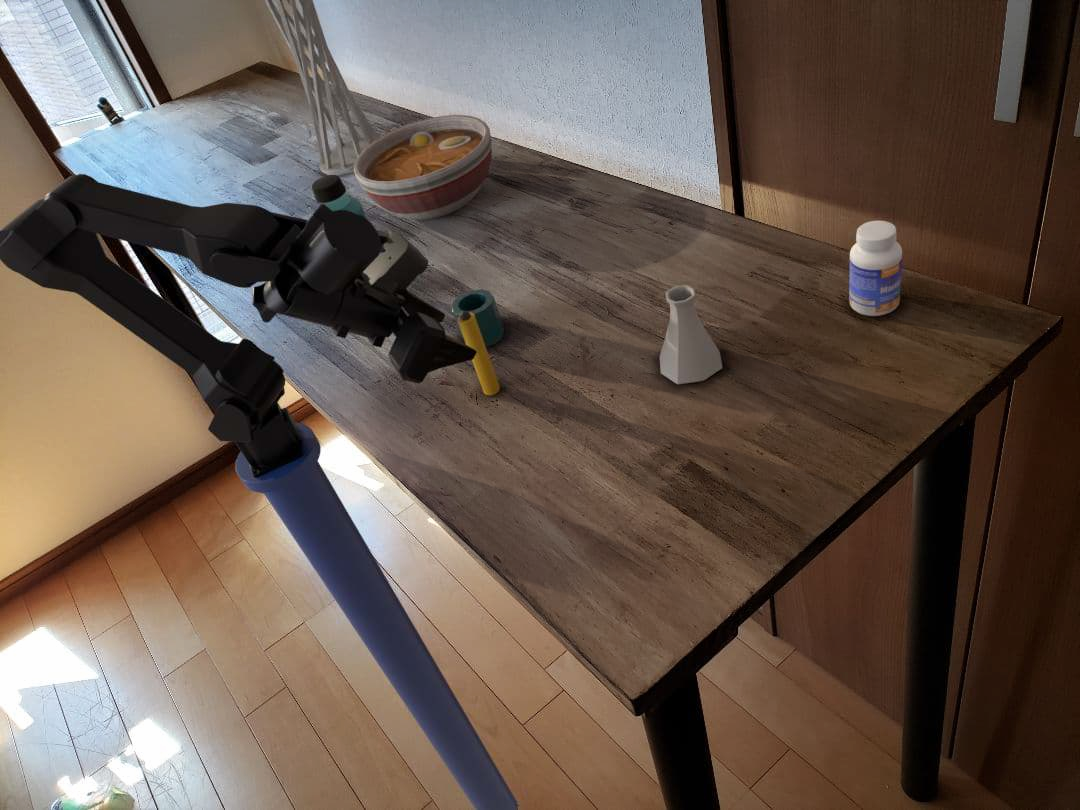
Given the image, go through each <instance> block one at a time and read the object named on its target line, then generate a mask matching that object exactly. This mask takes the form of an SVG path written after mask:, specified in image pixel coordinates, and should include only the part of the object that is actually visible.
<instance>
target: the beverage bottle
mask: <svg viewBox="0 0 1080 810" xmlns="http://www.w3.org/2000/svg"><path fill="white" fill-rule="evenodd" d="M311 190H312V193H313V195H314V200H315V201H316V202H317V203H319V204H325V205H326V206H327V207H328V208H330V209H331V210H332V211H335V210H347V211H351V212H354V213H355V214H357V215H362V216H364V217H365V218H366V219H367V220H368V218H367V216H366V212H365V211H364V209H363V206H362V203H361V202H360V200H358V199H357V198H355V197H353V196H349V195H345V194H346V192H347V189H346V186H345V184H344V182H343V181H342V179H341V178H340V175H339V176H337V175H325V176H322V177H319V178H318V179H316V180H314V182H313V183H312V184H311Z"/></svg>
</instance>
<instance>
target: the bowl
mask: <svg viewBox="0 0 1080 810" xmlns="http://www.w3.org/2000/svg"><path fill="white" fill-rule="evenodd" d="M492 146H493V143H492V135H491V130H490V127H489V125H488V123H486V122H485V121H484V120H483V119H481V118H478V117H475V116H472V115H466V114H448V115H440V116H434V117H429V118H424V119H421V120H417V121H414V122H411V123H409V124H405V125H403V126H401V127H398V128H396V129H394V130H392V131H390V132H388V133H386V134H384V135H382V136H380V137H379V139H378V140H376V141H374V142H373V143H372V144H370V145H369V146H368V147H367V148H366V149H364V151H363V152H362V153H361V154H360V155H359V156H358V158H357V160H356V162H355V165H354V172H353V173H354V176H355V178H356V180H357V182H358V183H359V186H360V187H361V188H362V189H363V190H364V192H365V193H366V194H367V195H368V196H369V198H370V199H371V200H372V201H373V202H375V203H376V204H377V205H378V206H380V207H381V208H382V209H383V210H386V211H388V212H389V213H391V214H393V215H396V216H398V217H401V218H405V219H411V220H418V221H419V220H420V221H422V220H432V219H437V218H442V217H444V216H447V215H450V214H452V213H454V212H456V211H458V210H460V209H461V208H464V206H466V205H468V203H469V202H471V200H472V199H473V198H474V197H475V196H476V195H477V194H478V193H479V192H480V191H481V188H482V187H483V186H484V185H483V184H484V183H485V181H486V180H487V177H488V175H489V171H490V167H491V163H492V157H493V155H492V153H493V148H492Z"/></svg>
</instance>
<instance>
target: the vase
mask: <svg viewBox="0 0 1080 810" xmlns="http://www.w3.org/2000/svg"><path fill="white" fill-rule="evenodd" d="M263 1H264V3H265V4H266V6H267V7H268V9H269V12H270V14H271V15H272V17H273V19H274V21H275V23H276V24H277V26H278V28H279V31H280V32H281V34H282V36H283V38H284V40H285V42H286V44H287V45H288V48H289V50H290V52H291V53H292V56H293V59H294V62H295V64H296V68H297V70H298V75H299V77H300V79H301V83H302V86H303V90H304V93H305V96H306V98H307V101H308V104H309V107H310V111H311V116H312V121H313V127H314V131H315V136H316V142H317V147H318V153H319V158H320V159H319V162H318V167H319V169H320V172H321V173H323V174H325V175H326V176H328V175H337V176H339V177H340V176H344V175H348V174H352V173H355V172H354V165H355V162H356V160H357V158H358V156H359V155H360V154H361V153H362V152H363V151H364V149H366V148H367V147H368V146H369V145H370V144H372V143H373V142H374V141H376V140H378V139H379V138H380V137H379V135H378V134H377V133H376V131H375V129H374V128H373V126H372V125H371V123H370V122H369V120H368V118H367V117H366V115H365V113H364V112H363V111H362V109H361V108H360V106H359V104H358V102H357V101H356V100H355V98H354V97H353V94H352V93H351V92H350V90H349V87H348V86H347V84H346V82H345V79H344V77H343V75H342V73H341V71H340V69H339V67H338V65H337V63H336V61H335V59H334V57H333V55H332V53H331V50H330V49H329V47H328V44H327V41H326V38H325V34H324V31H323V28H322V25H321V22H320V19H319V15H318V13H317V10H316V7H315V4H314V3H315V2H314V0H298V3H299V5H300V6H301V11H302V14H301V12H300V11H299V9H298V8H297V2H296V0H285V1H286V2H287V4H288V5H289V7H290V11H291V15H292V16H291V15H290V13H289V12H288V11H287V9H286V8H285V5H284V3H283V0H263ZM301 26H302V27H303V29H304V31H305V34H303V32H302V30H301ZM294 34H295V35H296V37H295V35H294ZM315 48H316V49H317V52H316V51H315V50H316V49H315ZM305 50H306V51H307V52H308V55H307V54H306V51H305ZM318 68H319V69H320V70H321V73H322V76H321V75H320V73H319V71H318ZM309 71H310V72H311V75H310V73H309ZM311 76H312V77H311ZM322 77H323V78H322ZM331 86H332V87H333V89H334V91H335V92H336V95H337V98H338V100H337V99H336V97H335V96H334V94H333V93H332V89H331ZM321 89H322V90H323V92H324V94H325V95H326V99H327V105H328V109H329V110H328V109H327V107H326V105H325V103H324V101H323V98H322V91H321ZM338 101H339V102H338ZM349 111H350V112H349ZM336 112H337V113H338V114H339V117H340V118H341V119H342V120H343V122H344V123H345V125H346V126H347V129H348V132H349V135H350V138H351V140H348V141H345V142H344V141H343V139H342V137H341V134H340V129H339V128H340V127H339V123H338V118H337V113H336ZM350 113H351V114H352V115H353V117H354V119H355V120H356V122H357V123H358V127H359V128H360V129H361V132H362V134H363V136H364V137H362V136H361V135H360V133H359V132H358V131H357V129H356V128H355V126H354V125H353V122H352V119H351V115H350ZM326 121H327V123H328V126H329V127H330V130H331V131H332V133H333V135H334V139H335V145H336V146H335V147H333V148H330V144H329V140H328V133H327V132H328V131H327V126H326Z"/></svg>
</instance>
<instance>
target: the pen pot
mask: <svg viewBox="0 0 1080 810" xmlns="http://www.w3.org/2000/svg"><path fill="white" fill-rule="evenodd" d="M450 307H451V308H450V309H451V312H452V315H453V318H454V320H455V322H456V325H457V329H458V330H459V333H460V337H461V340H463V343H464V344H466V342H465V340H464V337H463V334H462V332H461V329H460V326H459V323H458V317H459V316H460V314H461V312H463V311H468V312H471V313H473V314H474V315H475V318H476V321H477V324H478V327H479V329H480V332H481V335H482V338H483V341H484V344H485V347H486V349H487V348H490V347H492V346H493V345H496V344H497V343H498V342H500V340H501V339H502V338H503V336H504V333H505V329H504V324H503V322H502V318H501V315H500V313H499V309H498V306H497V303H496V300H495V297H494V295H493V294H492V292H491V291H490V290H485V289H472V290H468V291H466V292H464V293H462V294H460V295H458V296H457V297H456V299H454V300H453V301H452V304H451V306H450Z"/></svg>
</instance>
